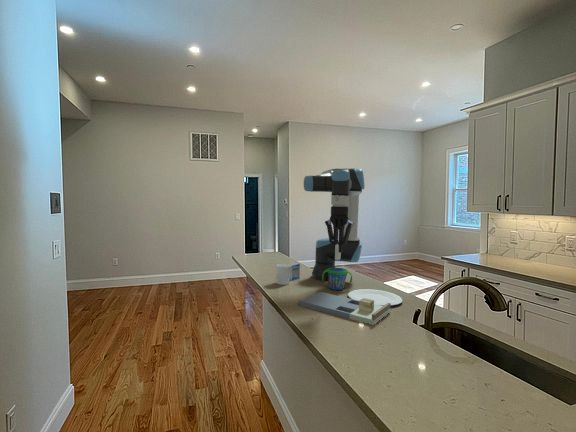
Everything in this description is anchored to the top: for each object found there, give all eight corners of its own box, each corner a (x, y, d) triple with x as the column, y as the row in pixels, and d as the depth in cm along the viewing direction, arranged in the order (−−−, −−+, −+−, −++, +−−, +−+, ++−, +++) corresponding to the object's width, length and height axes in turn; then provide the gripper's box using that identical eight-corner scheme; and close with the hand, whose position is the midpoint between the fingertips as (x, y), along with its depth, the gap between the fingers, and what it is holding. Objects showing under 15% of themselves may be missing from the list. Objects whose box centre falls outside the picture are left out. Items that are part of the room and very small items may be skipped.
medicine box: (291, 280, 180) (292, 265, 180) (285, 279, 183) (285, 264, 183) (299, 278, 187) (300, 263, 186) (293, 277, 189) (294, 262, 189)
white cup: (283, 280, 180) (283, 263, 179) (293, 283, 174) (293, 265, 173) (272, 283, 174) (273, 264, 173) (282, 286, 168) (283, 267, 168)
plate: (341, 302, 145) (341, 299, 145) (354, 289, 168) (354, 286, 168) (399, 312, 134) (399, 308, 134) (405, 297, 157) (405, 293, 157)
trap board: (319, 295, 153) (320, 287, 153) (390, 312, 133) (390, 303, 133) (298, 305, 139) (299, 296, 138) (374, 325, 119) (374, 314, 118)
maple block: (363, 307, 132) (363, 297, 132) (373, 309, 130) (374, 300, 130) (358, 310, 129) (359, 300, 129) (369, 312, 126) (369, 302, 126)
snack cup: (350, 286, 171) (351, 268, 171) (352, 292, 161) (353, 272, 160) (321, 285, 173) (322, 266, 172) (321, 290, 162) (322, 270, 162)
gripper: (322, 205, 139) (320, 258, 141) (350, 206, 132) (347, 262, 133) (330, 204, 145) (328, 256, 147) (357, 206, 138) (355, 260, 140)
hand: (337, 259), depth 140 cm, fingers closed
